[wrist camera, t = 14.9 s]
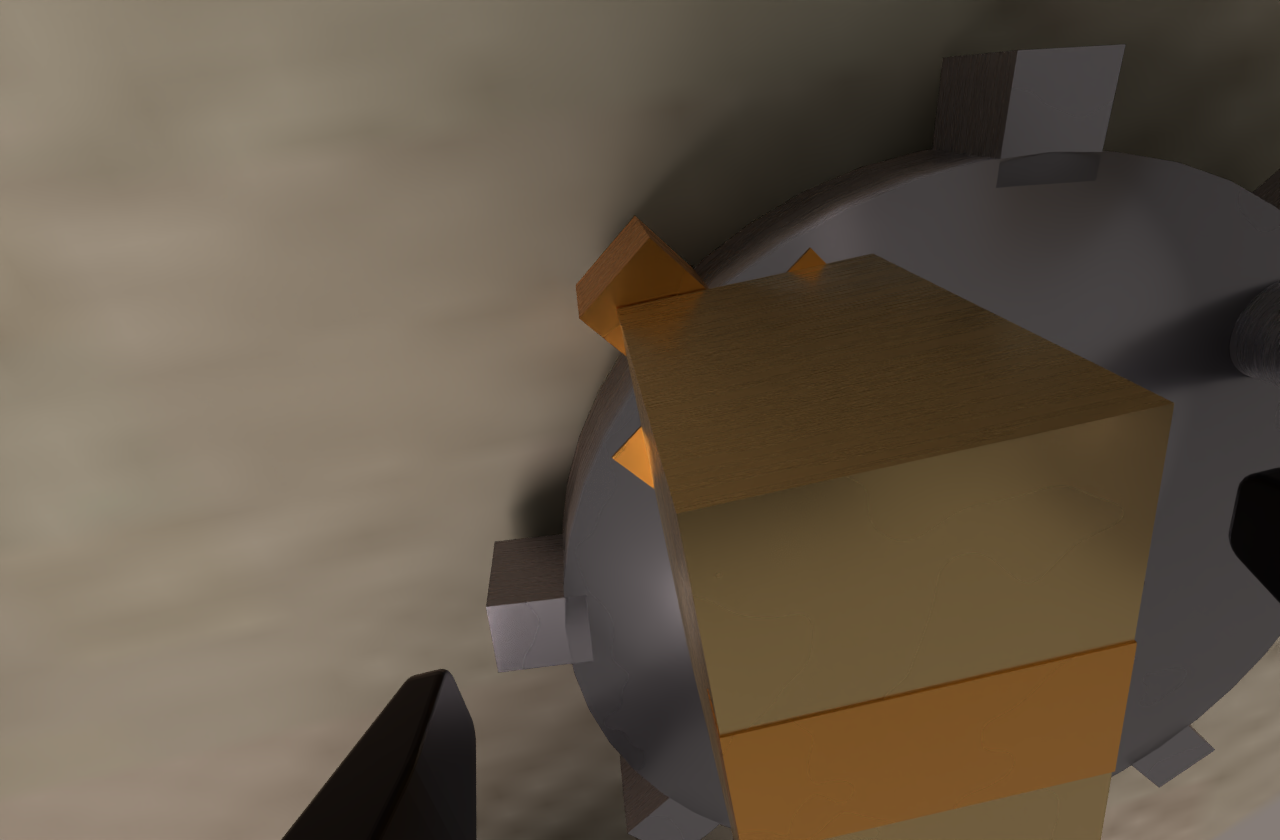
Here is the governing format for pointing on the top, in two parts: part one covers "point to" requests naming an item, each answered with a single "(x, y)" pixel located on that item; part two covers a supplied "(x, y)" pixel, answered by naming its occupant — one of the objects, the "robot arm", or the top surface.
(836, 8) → the top surface
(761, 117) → the top surface
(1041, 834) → the orange banded block
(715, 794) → the sprocket
